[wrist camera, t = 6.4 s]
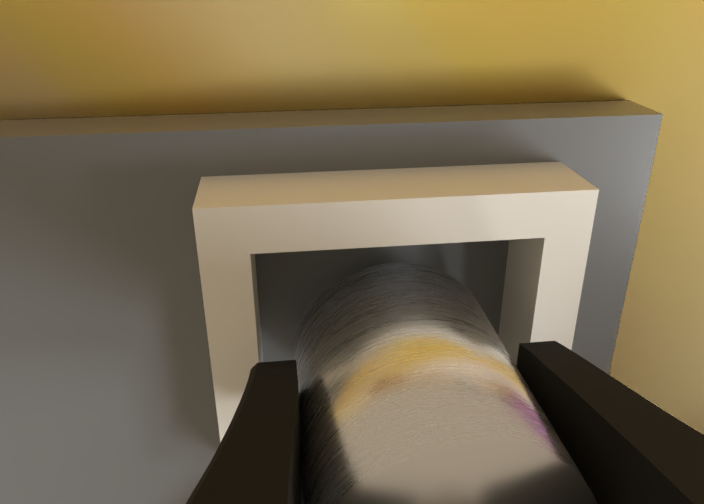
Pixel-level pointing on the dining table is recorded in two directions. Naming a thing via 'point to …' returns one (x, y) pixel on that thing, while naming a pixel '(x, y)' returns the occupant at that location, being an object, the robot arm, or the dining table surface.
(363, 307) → the pin
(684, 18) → the dining table surface
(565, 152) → the board
